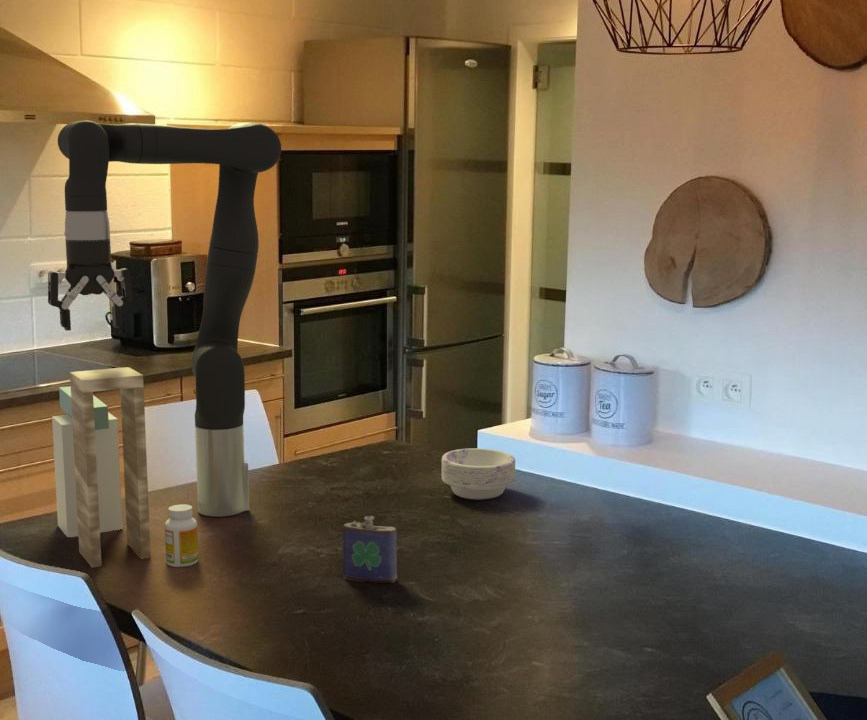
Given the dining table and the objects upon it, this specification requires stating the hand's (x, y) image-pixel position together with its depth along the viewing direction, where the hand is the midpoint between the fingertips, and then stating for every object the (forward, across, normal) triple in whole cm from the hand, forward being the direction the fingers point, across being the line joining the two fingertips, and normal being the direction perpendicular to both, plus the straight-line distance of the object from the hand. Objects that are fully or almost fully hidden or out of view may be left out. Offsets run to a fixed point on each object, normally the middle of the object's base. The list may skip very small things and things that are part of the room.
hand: (92, 328), depth 201 cm
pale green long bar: (+17, -1, +5) cm, 18 cm away
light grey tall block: (+38, -1, +5) cm, 38 cm away
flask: (+38, +32, -45) cm, 67 cm away
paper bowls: (+38, +74, -12) cm, 84 cm away
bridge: (+38, -1, -12) cm, 40 cm away
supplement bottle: (+38, +8, -22) cm, 45 cm away
